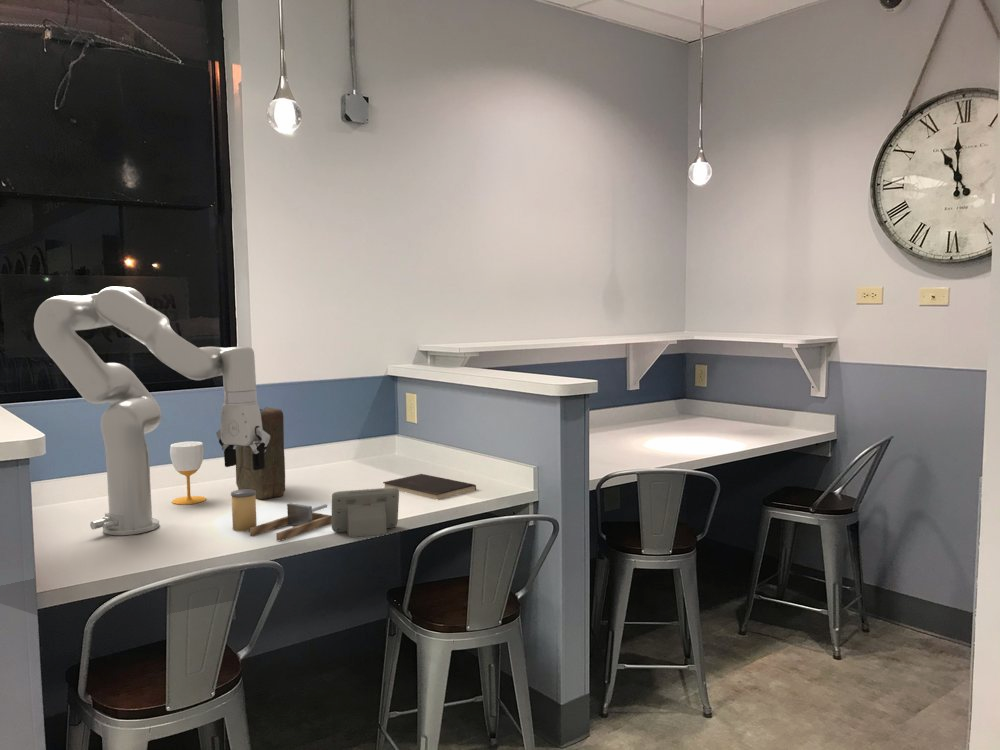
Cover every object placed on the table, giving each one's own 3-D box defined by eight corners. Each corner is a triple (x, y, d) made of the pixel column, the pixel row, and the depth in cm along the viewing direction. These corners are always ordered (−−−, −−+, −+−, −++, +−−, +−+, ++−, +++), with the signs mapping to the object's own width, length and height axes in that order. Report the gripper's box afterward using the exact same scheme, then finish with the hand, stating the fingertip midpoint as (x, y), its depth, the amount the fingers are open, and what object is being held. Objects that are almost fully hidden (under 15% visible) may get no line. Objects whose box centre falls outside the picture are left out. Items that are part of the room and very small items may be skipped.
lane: (279, 541, 189) (279, 533, 189) (250, 535, 194) (249, 528, 193) (332, 522, 204) (332, 515, 204) (303, 517, 209) (303, 510, 209)
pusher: (308, 527, 199) (308, 507, 198) (287, 523, 202) (287, 504, 202) (337, 517, 208) (336, 498, 207) (316, 514, 211) (315, 495, 211)
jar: (243, 532, 196) (242, 495, 195) (227, 529, 199) (225, 493, 198) (262, 526, 201) (260, 490, 200) (245, 523, 204) (244, 488, 203)
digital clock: (400, 525, 201) (399, 483, 200) (398, 536, 192) (398, 492, 191) (333, 527, 200) (332, 485, 199) (329, 538, 191) (328, 493, 190)
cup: (191, 505, 222) (188, 447, 221) (164, 503, 225) (161, 446, 224) (213, 498, 231) (211, 442, 229) (186, 495, 234) (184, 440, 232)
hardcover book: (436, 502, 227) (436, 493, 227) (383, 489, 242) (383, 482, 242) (476, 491, 239) (476, 484, 238) (422, 480, 254) (422, 473, 254)
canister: (288, 496, 232) (285, 409, 230) (260, 501, 226) (257, 412, 224) (260, 485, 246) (257, 403, 244) (233, 490, 241) (230, 406, 238)
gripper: (203, 398, 198) (208, 467, 200) (254, 401, 190) (258, 473, 191) (227, 394, 205) (232, 462, 206) (278, 397, 196) (281, 467, 198)
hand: (244, 467), depth 199 cm, fingers open, 9 cm apart
